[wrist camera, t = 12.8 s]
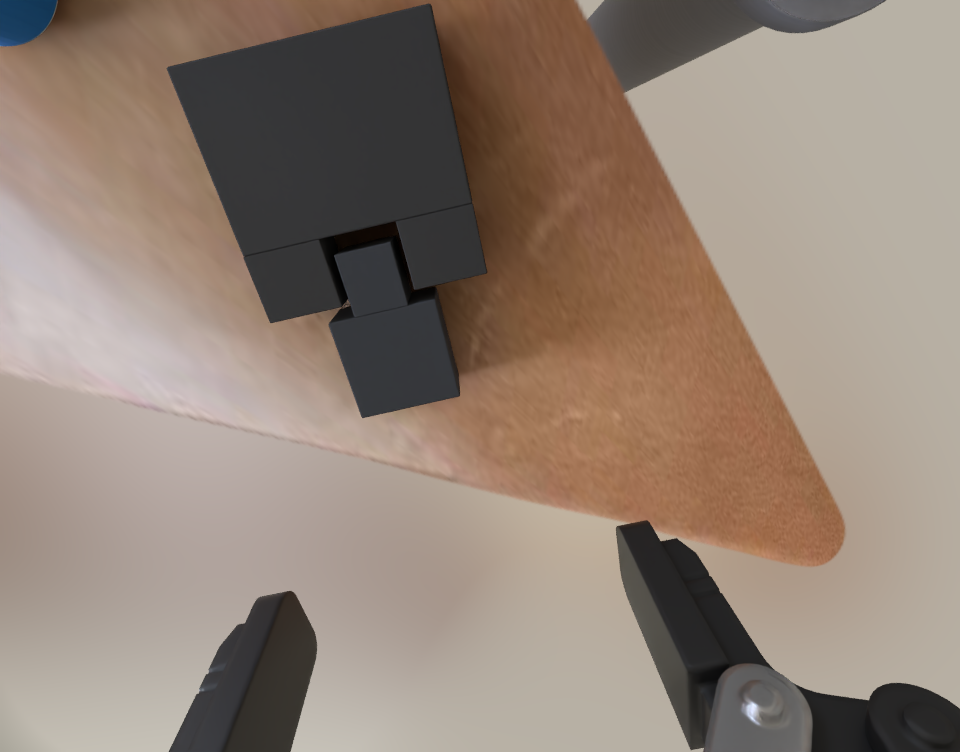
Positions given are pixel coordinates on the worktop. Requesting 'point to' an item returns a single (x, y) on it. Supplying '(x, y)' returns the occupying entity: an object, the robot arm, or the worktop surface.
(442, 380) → the pad
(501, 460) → the worktop surface
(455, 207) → the base pad
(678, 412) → the worktop surface
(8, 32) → the beverage can
